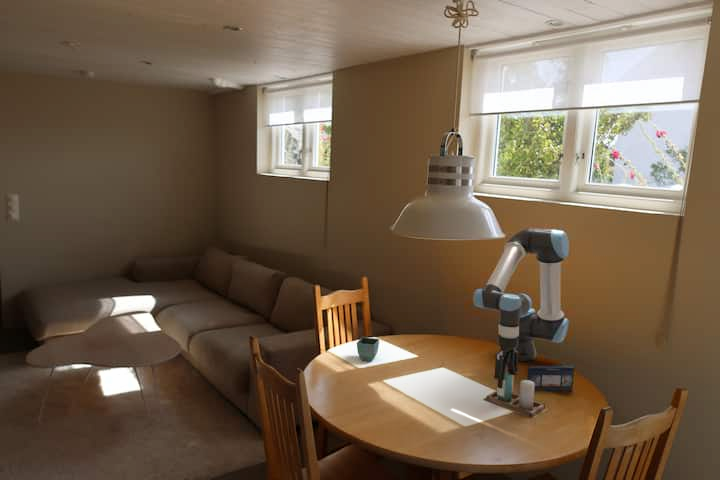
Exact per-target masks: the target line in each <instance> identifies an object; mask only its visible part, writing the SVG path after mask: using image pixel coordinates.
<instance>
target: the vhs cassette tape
mask: <svg viewBox="0 0 720 480" xmlns="http://www.w3.org/2000/svg"><path fill="white" fill-rule="evenodd" d="M574 375H575V367H574V366H572V365H528V366H527V378H526V380H530V381H532V382H534V383H535V386H534V390H537V389H538V390H542V391H546V392H572V391H573V389H574V388H573V387H574Z"/></svg>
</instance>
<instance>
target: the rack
mask: <svg viewBox="0 0 720 480" xmlns="http://www.w3.org/2000/svg"><path fill="white" fill-rule="evenodd" d="M482 400H483V401H485V402H488V403H491V404H492V405H496V406H498V407H501V408H503V409H505V410H509V411H512V412H514V413H516V414H519V415H520V416H524V417H527V418H529V419H531V420H535V419H536V418H537V417H539V416H540V415H541V414H543V413H545V412H547V410H549V408H550V407H549V408H548V407H546V404H545V403H542V402H539V401H537V400H534V402H533V410H532V411H529V410H526V409H523V408H521V407H519V400H520V394H517V393H514V392H512V397H511V402H510V403H507V402H505V401H502V400H499V399H498V395H497V390H495V391H493V392H491V393H489V394H487V395H486V397H485V398H483V399H482Z"/></svg>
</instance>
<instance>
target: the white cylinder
mask: <svg viewBox="0 0 720 480" xmlns="http://www.w3.org/2000/svg"><path fill="white" fill-rule="evenodd" d="M519 384H520V387H519V395H520V400H519V407H521V408H523V409H526V410H529V411H532V410H533V402H534V401H535V400H534V399H535V398H534V397H535V389H534V386H535V383H534V382H532V381H530V380H527V379H523V380H521V381H520V383H519Z"/></svg>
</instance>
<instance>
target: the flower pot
mask: <svg viewBox="0 0 720 480" xmlns="http://www.w3.org/2000/svg"><path fill="white" fill-rule="evenodd" d="M379 343H380V339H379V338H373V337H364V336H363V337H360V339H358V340H357V342H356V349H357V354H358V357H359V359H360V360H362V361H365V360H366V362H367V361H368V362H373V360H374V359H375V357H376V356H377V353H378V352H379V346H380V345H379Z"/></svg>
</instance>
